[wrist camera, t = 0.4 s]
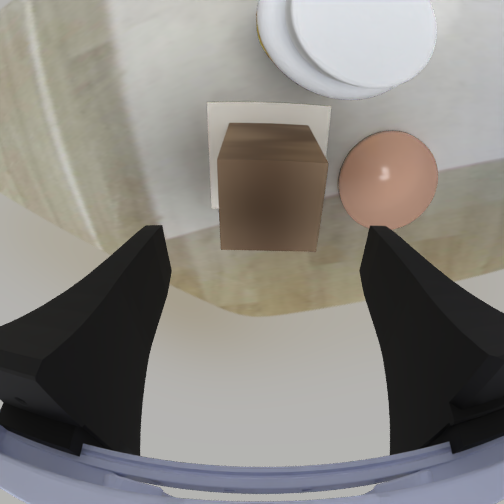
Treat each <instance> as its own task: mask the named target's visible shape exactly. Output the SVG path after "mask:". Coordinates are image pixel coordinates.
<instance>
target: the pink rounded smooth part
mask: <svg viewBox="0 0 504 504" xmlns="http://www.w3.org/2000/svg"><path fill="white" fill-rule="evenodd" d="M437 183H438V170H437V165H436V161H435V159H434V157H433V154H432V153H431V151H430V150H429V149H428V147H427V146H426V145H425V144H424V143H422V142H421V141H420V140H419V139H417V138H416V137H414V136H412V135H410V134H408V133H405V132H401V131H383V132H379V133H376V134H373V135H371V136H369V137H367V138H365V139H364V140H362V141H361V142H359V143H358V144H357V145H356V146H355V147H354V148H353V149H352V150H351V151H350V153H349V154H348V156H347V157H346V159H345V161H344V163H343V165H342V168H341V170H340V175H339V183H338V185H339V194H340V198H341V200H342V203H343V205H344V207H345V209H346V211H347V212H348V214H349V215H350V216H351V217H352V218H353V219H354V220H355V221H356V222H357V223H359V224H361V225H362V226H365V227H367V228H369V227H370V226H387V227H388V228H389V229H391V230H392V229H396V228H400V227H402V226H405V225H407V224H409V223H410V222H412V221H414V220H415V219H416V218H418V217H419V216H420V215H421V214H422V213H423V212H424V211H425V210H426V208H427V207H428V206H429V204H430V203H431V201H432V199H433V197H434V194H435V191H436V188H437Z"/></svg>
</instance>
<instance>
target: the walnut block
mask: <svg viewBox="0 0 504 504" xmlns="http://www.w3.org/2000/svg"><path fill="white" fill-rule="evenodd" d="M327 171H328V161H327V159H326V158H325V156H324V154H323V152H322V150H321V148H320V146H319V144H318V142H317V140H316V139H315V137H314V135H313V133H312V131H311V129H310V128H309V126H308V125H295V124H274V123H229V125H228V128H227V131H226V134H225V137H224V140H223V143H222V146H221V149H220V152H219V155H218V158H217V175H218V199H219V221H220V240H221V250H265V251H309V252H316V247H317V241H318V235H319V228H320V222H321V215H322V208H323V201H324V194H325V187H326V179H327Z"/></svg>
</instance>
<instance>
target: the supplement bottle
mask: <svg viewBox="0 0 504 504" xmlns="http://www.w3.org/2000/svg"><path fill="white" fill-rule="evenodd" d="M256 16H257V35H258V38H259V41H260V44H261V46H262V48H263V50H264V51H265V53H266V54H267V55H268V57H269V58H270V59H271V60H272V61H273V62H274V64H275V65H276V66H277V67H278V68H279V69H280V70H281V71H282V72H283V73H284V74H285V75H286V76H287V77H289V78H290V79H291V80H293V81H294V82H295V83H297V84H298V85H300V86H302V87H303V88H305V89H307V90H309V91H312V92H314V93H316V94H319V95H322V96H326V97H330V98H334V99H341V100H360V99H367V98H371V97H375V96H378V95H380V94H383V93H385V92H387V91H389V90H391V89H392V88H394V87H395V86H397V85H400V84H402V83H405V82H407V81H409V80H410V79H412V78H413V77H415V76H416V75H417V74H419V72H420V71H421V70H422V69H423V68H424V67H425V66H426V64H427V63H428V61H429V60H430V58H431V56H432V54H433V51H434V48H435V44H436V38H437V23H436V17H435V13H434V10H433V7H432V4H431V2H430V0H259V1H258V6H257V13H256Z"/></svg>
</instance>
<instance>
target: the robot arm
mask: <svg viewBox="0 0 504 504" xmlns="http://www.w3.org/2000/svg"><path fill="white" fill-rule="evenodd" d="M171 271H172V270H171V265H170V261H169V256H168V252H167V247H166V242H165V237H164V232H163V227H162V225H150V226H145V227H143V228H142V229H141V230H140V231H138V232H137V233H136V234H135V235H134V236H133V237H131V238H130V239H129V240H128V241H127V242H126V243H125V244H123V245H122V246H121V247H120V248H119V249H118V250H117V251H116V252H114V253H113V254H112V255H111V256H110V257H109V258H108V259H106V260H105V261H104V262H103V263H101V264H100V265H99V266H98V267H97V268H96V269H94V270H93V271H92V272H91V273H90V274H88V275H87V276H86V277H84V278H83V279H82V280H81V281H79V282H78V283H76V284H75V285H74V286H72V287H71V288H69V289H68V290H67V291H65V292H64V293H62V294H60V295H59V296H57V297H56V298H54V299H52V300H51V301H49V302H48V303H46V304H44V305H43V306H41V307H39V308H37V309H36V310H34V311H32V312H30V313H28V314H26V315H24V316H23V317H20V318H18V319H16V320H14V321H12V322H10V323H7V324H5V325H3V326H0V400H2V401H3V402H4V403H3V405H2V408H1V409H0V488H1V489H2V490H4V491H6V492H7V493H9V494H11V495H12V496H14V497H16V498H18V499H19V500H21V501H23V502H25V503H27V504H496V503H498V502H499V501H501V500H503V499H504V313H502V312H500V311H498V310H497V309H495V308H493V307H491V306H490V305H488V304H486V303H485V302H483V301H482V300H480V299H478V298H477V297H475V296H474V295H472V294H470V293H469V292H467V291H466V290H465V289H463V288H462V287H460V286H459V285H458V284H456V283H455V282H453V281H452V280H451V279H449V278H448V277H447V276H446V275H444V274H443V273H442V272H441V271H439V270H438V269H437V268H436V267H434V266H433V265H432V264H431V263H430V262H428V261H427V260H426V259H425V258H424V257H423V256H421V255H420V254H419V253H418V252H417V251H416V250H414V249H413V248H412V247H411V246H410V245H409V244H408V243H406V242H405V241H404V240H403V239H402V238H401V237H399V236H398V235H397V234H396V233H395V232H393V231H392V230H391V229H389V228H388V227H387V226H370V227H369V232H368V237H367V241H366V245H365V250H364V254H363V258H362V262H361V267H360V276H361V282H362V287H363V292H364V296H365V299H366V302H367V305H368V308H369V312H370V315H371V318H372V321H373V324H374V327H375V330H376V334H377V337H378V340H379V344H380V347H381V351H382V356H383V361H384V367H385V374H386V381H387V390H388V400H389V415H390V455H389V456H383V457H378V458H372V459H366V460H358V461H350V462H342V463H333V464H322V465H309V466H290V467H237V466H218V465H204V464H192V463H184V462H175V461H168V460H161V459H154V458H147V457H142V456H140V431H141V430H140V429H141V415H142V402H143V393H144V385H145V378H146V371H147V365H148V359H149V354H150V350H151V346H152V342H153V339H154V336H155V333H156V329H157V326H158V323H159V319H160V316H161V313H162V310H163V307H164V304H165V300H166V297H167V293H168V288H169V283H170V277H171ZM387 481H388V482H387ZM141 482H143V483H141ZM382 482H384V483H382ZM145 483H149V484H154V485H160V486H167V487H173V488H180V489H188V490H189V489H190V490H199V491H208V492H223V493H242V494H281V493H282V494H283V493H304V492H317V491H327V490H337V489H345V488H351V487H358V486H365V485H371V484H377V483H381V484H377V485H376V486H375V487H374V489H373V490H371V491H369V492H368V493H365V494H363V495H359V496H351V497H341V498H329V499H317V500H299V501H270V502H269V501H268V502H266V501H265V502H264V501H262V502H261V501H260V502H259V501H255V502H252V501H251V502H250V501H248V502H247V501H246V502H245V501H217V500H216V501H215V500H198V499H186V498H176V497H173V496H170V495H168V494H166V493H164V492H163V490H162V489H161V488H160V487H156V486H152V485H149V484H145Z"/></svg>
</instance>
